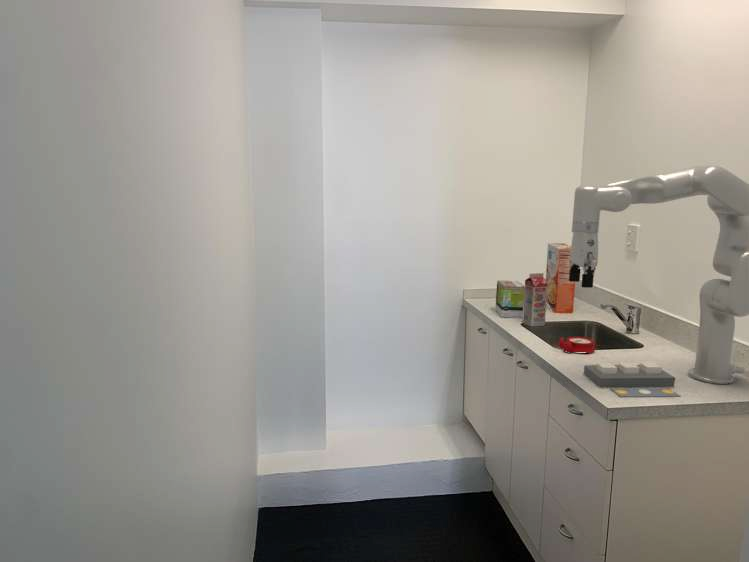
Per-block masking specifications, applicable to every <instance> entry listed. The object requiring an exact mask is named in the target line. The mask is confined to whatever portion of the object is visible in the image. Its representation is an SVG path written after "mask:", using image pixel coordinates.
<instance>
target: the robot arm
mask: <svg viewBox="0 0 749 562" xmlns="http://www.w3.org/2000/svg"><path fill="white" fill-rule="evenodd" d="M694 196H695V197H696V196H706V197H707V199H706V201H707V204H708V207H709V209H710V210H711V211H712V212H713V214H715V216H716V217H717V219H718V222H719V233H718V238H717V242H716V246H715V250H714V253H713V257H712V258H713V259H712V267H713V269H714V271H716V272H717V273H719V274H720V275H723V276H727V277H730V280H727V279H724V278H712V279H709V280H707V281H705V282H704V283H703V284H702V286H701V288H700V290H699V297H698V298H699V300H698V301H699V309H700V311H699V313H700V314H699V316H700V317H699V326H698V333H697V342H696V343H697V344H696V352H695V361H694V367H692V368H690V369H688V372H687V373H688V376H689V377H691V378H693V379H695V380H697V381H700V382H704V383H708V384H716V385H717V384H718V385H726V384H727V385H728V383H729V384H732V383H734V381H735V376H734V374H743V373H745V368H744V367H743V366H738V367H737V366H735V365H734V364H732V365H731V361H732V360H731V358H732V351H733V345H734V344H733V343H734V336H735V331H736V330H735V329H736V328H735V327H736V321H735V317H739V318H742V317H746V316H749V183H748V182H746V181H744V180H743V179H742V178H740V177H739V176H737V175H735V174H734V173H732V172H731V171H729V170H727V169H726V168H723V167H722V166H720V165H699V166H698V165H697V166H691V167H686V168H681V169H676V170H673V171H669V172H667V171H666V172H664V173H663V172H662V173H658V174H653V175H648V176H643V177H639V178H635V179H634V178H633V179H628V180H622V181H617V182H614V183H613V182H612V183H608V184H604V185H601V186H592V185H591V186H590V185H589V186H587V185H583V186H582V185H581V186H577V187H576V188H575V190H574V197H573V198H574V200H573V208H572V209H573V210H572V211H573V212H572V224H571V233H572V239H571V245H570V246H571V253H570V268H572V269H570V273H569V281H570V282H575V283H576V282H577V283H578V282H580V279H581V285H580V286H581V288H587V289H588V288H594V277H595V271H596V267H597V266H598V261H599V259H598V258H599V237H598V236H599V235H598V234H599V229H600V218H601V211H606V212H612V213H619V212H620V213H621V212H623V211H625V210H627V209H628V208H629V207H630V206H631V205H637V204H639V205H640V204H645V205H648V204H649V205H650V204H652V205H653V204H662V203H668V202H672V201H676V200H680V199H685V198H690V197H694ZM581 268H582V271H583V273H582V275H581ZM581 276H582V277H581Z"/></svg>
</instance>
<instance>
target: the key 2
mask: <svg viewBox="0 0 749 562" xmlns="http://www.w3.org/2000/svg"><path fill="white" fill-rule="evenodd" d="M639 365H640V370H641V371H643V372H644V373H646V374H661V369H662V367H663V366H661V365H658V364H657V363H655V362H640V364H639ZM662 370H663V369H662Z"/></svg>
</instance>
